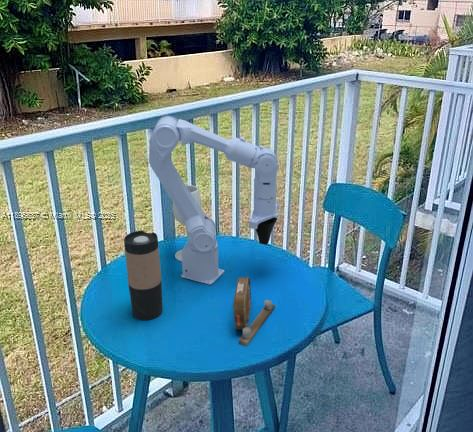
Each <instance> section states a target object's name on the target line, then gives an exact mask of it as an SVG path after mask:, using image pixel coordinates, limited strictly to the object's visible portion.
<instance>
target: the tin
mask: <svg viewBox="0 0 473 432" xmlns="http://www.w3.org/2000/svg"><path fill="white" fill-rule="evenodd" d="M235 286H236V287H235V291H234V297H233V317H234V328H235V329H236V330H243V328H245V327H249V320H250V313H251V306H252V305H251V304H252V303H251V302H252V295H251V294H252V293H251V292H252V291H251V289H252V288H251V279H250V276H248V277H245V276H244V277H238V278H237V280H236V285H235Z"/></svg>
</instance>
